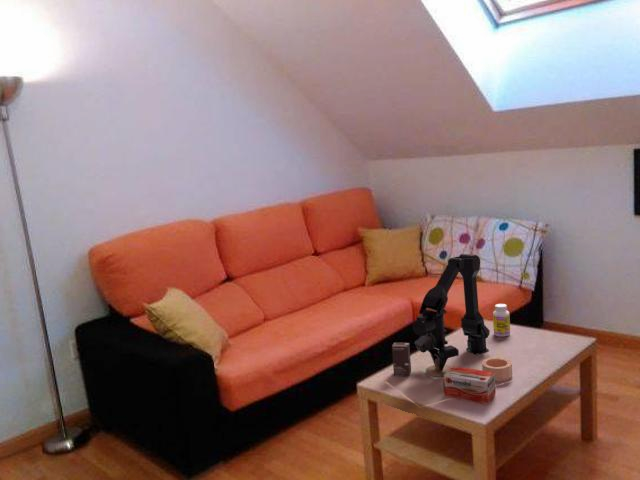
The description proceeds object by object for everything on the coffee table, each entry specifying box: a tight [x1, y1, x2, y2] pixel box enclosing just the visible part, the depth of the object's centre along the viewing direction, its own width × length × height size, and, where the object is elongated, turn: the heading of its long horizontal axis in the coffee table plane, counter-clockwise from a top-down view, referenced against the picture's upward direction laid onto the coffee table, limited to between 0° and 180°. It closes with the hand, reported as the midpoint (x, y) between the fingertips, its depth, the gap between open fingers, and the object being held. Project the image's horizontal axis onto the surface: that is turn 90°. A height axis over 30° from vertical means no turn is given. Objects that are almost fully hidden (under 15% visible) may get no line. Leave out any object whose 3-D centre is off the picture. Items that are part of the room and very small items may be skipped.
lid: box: [425, 358, 452, 377], centre depth 217 cm, size 10×10×5 cm
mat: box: [420, 368, 444, 380], centre depth 217 cm, size 10×10×1 cm
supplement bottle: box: [492, 303, 511, 338], centre depth 248 cm, size 7×7×13 cm
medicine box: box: [442, 366, 497, 405], centre depth 196 cm, size 15×8×8 cm, turn 55°
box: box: [391, 341, 412, 377], centre depth 217 cm, size 6×4×12 cm
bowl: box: [481, 357, 513, 382], centre depth 209 cm, size 10×10×5 cm
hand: (439, 368), depth 217 cm, fingers closed on lid, 3 cm apart
